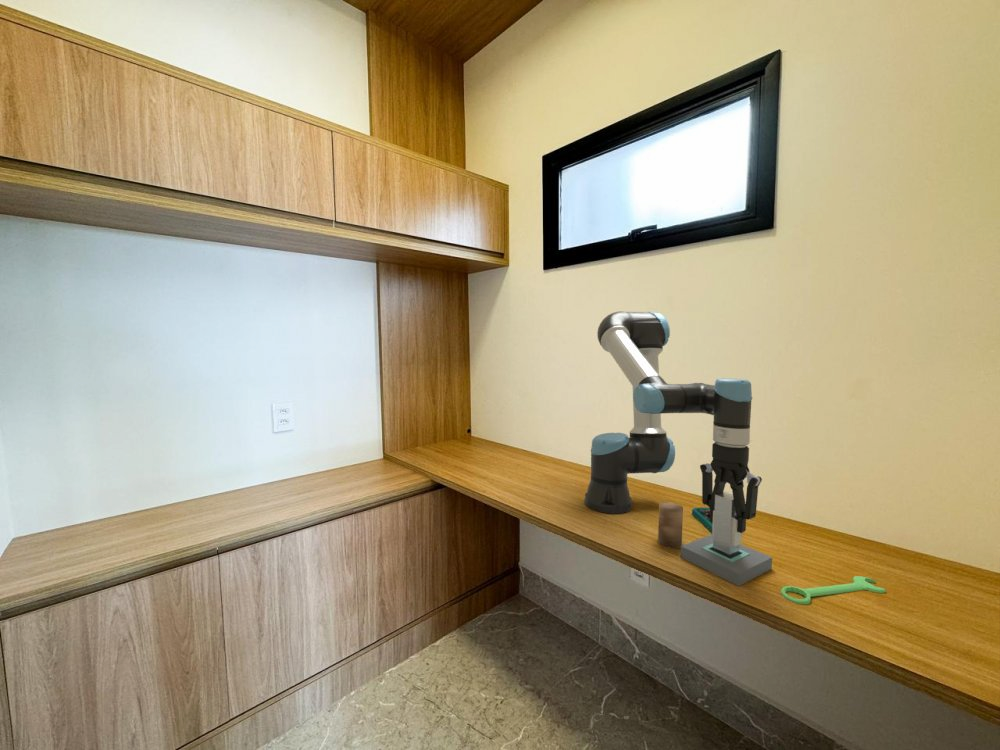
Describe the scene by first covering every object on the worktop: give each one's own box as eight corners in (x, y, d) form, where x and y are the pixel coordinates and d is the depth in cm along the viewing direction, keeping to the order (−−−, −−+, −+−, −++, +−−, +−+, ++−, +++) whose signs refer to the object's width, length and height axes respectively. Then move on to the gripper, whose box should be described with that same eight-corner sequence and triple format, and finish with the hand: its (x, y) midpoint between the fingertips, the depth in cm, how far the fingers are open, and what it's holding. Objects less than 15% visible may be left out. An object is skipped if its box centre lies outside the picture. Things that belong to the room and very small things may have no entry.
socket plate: (680, 557, 98) (681, 545, 98) (713, 543, 105) (714, 532, 105) (738, 586, 86) (739, 572, 86) (771, 568, 93) (772, 556, 93)
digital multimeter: (714, 515, 124) (714, 506, 124) (741, 538, 109) (741, 527, 109) (690, 515, 124) (690, 506, 124) (713, 537, 110) (714, 527, 109)
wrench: (892, 596, 85) (864, 581, 90) (892, 587, 85) (865, 573, 90) (797, 608, 79) (774, 592, 84) (798, 599, 79) (774, 584, 84)
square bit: (713, 547, 96) (715, 494, 95) (722, 543, 98) (724, 491, 97) (729, 554, 92) (731, 500, 91) (739, 550, 94) (741, 497, 93)
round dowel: (653, 541, 106) (654, 504, 105) (667, 536, 109) (668, 500, 108) (672, 550, 101) (673, 512, 100) (686, 545, 104) (687, 508, 103)
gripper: (687, 438, 99) (684, 529, 100) (761, 453, 84) (755, 560, 86) (705, 435, 103) (702, 523, 104) (778, 449, 88) (773, 551, 89)
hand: (726, 539), depth 95 cm, fingers closed on square bit, 4 cm apart
